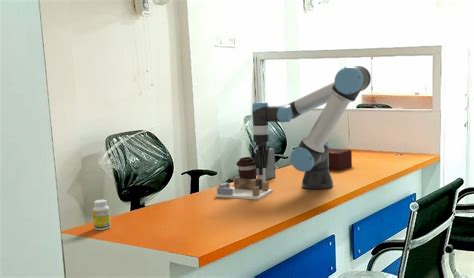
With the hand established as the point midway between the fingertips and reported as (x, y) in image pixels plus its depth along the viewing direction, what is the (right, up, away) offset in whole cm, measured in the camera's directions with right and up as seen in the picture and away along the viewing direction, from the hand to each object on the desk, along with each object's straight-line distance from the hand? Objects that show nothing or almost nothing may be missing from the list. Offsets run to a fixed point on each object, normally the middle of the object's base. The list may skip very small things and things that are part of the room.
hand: (262, 181), depth 274 cm
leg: (-7, -3, -4) cm, 9 cm away
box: (+42, +4, +50) cm, 65 cm away
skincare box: (+3, 0, +27) cm, 27 cm away
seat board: (-9, -5, -9) cm, 14 cm away
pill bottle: (-65, -14, -56) cm, 87 cm away
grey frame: (-11, -3, +13) cm, 17 cm away
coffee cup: (-7, -4, +4) cm, 8 cm away
